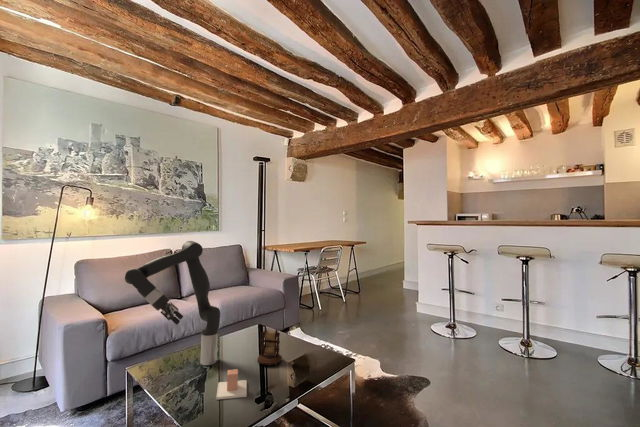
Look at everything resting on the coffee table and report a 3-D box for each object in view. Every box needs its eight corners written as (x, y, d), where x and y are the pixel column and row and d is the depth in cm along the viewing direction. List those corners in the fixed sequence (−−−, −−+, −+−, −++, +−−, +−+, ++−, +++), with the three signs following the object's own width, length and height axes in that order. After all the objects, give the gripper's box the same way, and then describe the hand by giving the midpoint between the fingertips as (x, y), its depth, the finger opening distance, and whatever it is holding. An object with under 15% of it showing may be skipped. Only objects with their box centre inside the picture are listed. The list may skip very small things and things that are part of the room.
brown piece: (284, 357, 196) (285, 325, 197) (278, 368, 181) (279, 334, 182) (261, 356, 198) (262, 324, 198) (254, 366, 183) (255, 332, 184)
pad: (218, 384, 162) (218, 382, 162) (246, 382, 165) (246, 379, 165) (216, 399, 148) (216, 397, 148) (246, 396, 151) (246, 394, 151)
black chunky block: (270, 416, 137) (270, 406, 137) (255, 413, 139) (255, 403, 139) (281, 401, 149) (281, 391, 149) (266, 398, 151) (267, 389, 151)
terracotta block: (227, 385, 158) (227, 370, 159) (237, 384, 160) (237, 369, 160) (226, 391, 153) (227, 374, 154) (237, 390, 155) (237, 373, 155)
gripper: (159, 296, 153) (183, 319, 155) (166, 290, 167) (188, 311, 169) (147, 308, 152) (171, 330, 154) (155, 300, 166) (177, 321, 168)
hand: (180, 320), depth 162 cm, fingers open, 8 cm apart
